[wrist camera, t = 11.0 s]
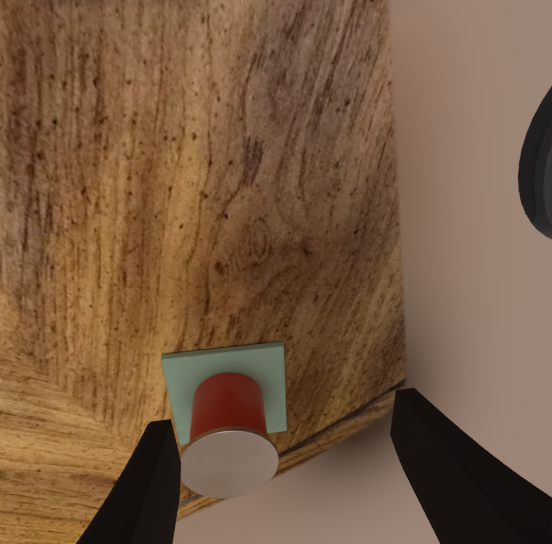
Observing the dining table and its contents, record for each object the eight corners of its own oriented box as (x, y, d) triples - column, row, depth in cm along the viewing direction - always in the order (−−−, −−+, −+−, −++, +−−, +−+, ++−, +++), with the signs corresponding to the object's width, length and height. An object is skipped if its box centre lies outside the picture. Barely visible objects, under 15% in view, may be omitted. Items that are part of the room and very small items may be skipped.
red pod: (266, 361, 22) (276, 424, 18) (270, 422, 24) (280, 490, 20) (180, 372, 21) (170, 438, 17) (192, 432, 24) (186, 504, 19)
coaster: (282, 340, 22) (284, 346, 21) (285, 425, 25) (286, 431, 25) (161, 354, 21) (160, 359, 21) (180, 438, 24) (179, 445, 24)
